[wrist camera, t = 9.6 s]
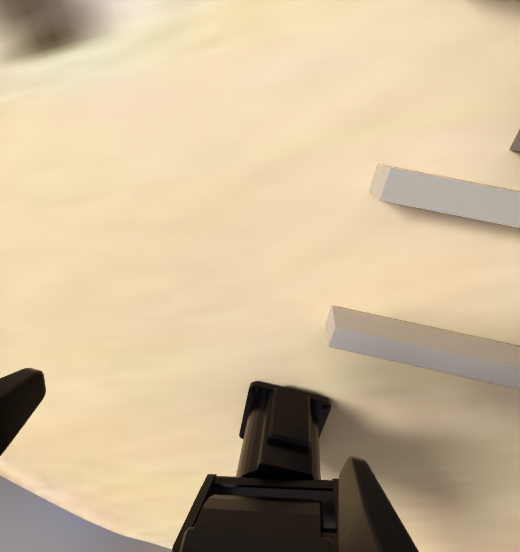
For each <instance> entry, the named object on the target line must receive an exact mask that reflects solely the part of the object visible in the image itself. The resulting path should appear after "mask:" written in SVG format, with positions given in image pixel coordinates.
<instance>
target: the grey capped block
mask: <svg viewBox="0 0 520 552" xmlns="http://www.w3.org/2000/svg"><path fill="white" fill-rule="evenodd" d="M509 150H512V151H518V152H520V130H519V132H518V134H517V136H516V138H515V140H514V141H513V143H512V145H511V147H510V149H509Z"/></svg>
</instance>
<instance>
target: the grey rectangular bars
mask: <svg viewBox="0 0 520 552" xmlns="http://www.w3.org/2000/svg"><path fill="white" fill-rule="evenodd" d="M369 193H370V194H372V195H373V196H374V197H376V198H377V199H378V200H380V201H385V202H390V203H395V204H400V205H405V206H410V207H416V208H421V209H426V210H431V211H436V212H441V213H446V214H451V215H456V216H461V217H466V218H471V219H476V220H481V221H486V222H491V223H496V224H501V225H506V226H512V227H517V228H520V191H516V190H511V189H506V188H501V187H496V186H490V185H485V184H480V183H475V182H469V181H464V180H459V179H454V178H449V177H443V176H438V175H433V174H428V173H423V172H417V171H412V170H407V169H402V168H396V167H391V166H386V165H381V164H378V166H377V169H376V172H375V175H374V178H373V181H372V184H371V187H370V190H369ZM326 329H327V337H328V345H329V347H332V348H337V349H341V350H346V351H350V352H355V353H359V354H364V355H368V356H373V357H377V358H381V359H386V360H390V361H395V362H399V363H404V364H408V365H413V366H417V367H422V368H426V369H430V370H435V371H439V372H444V373H448V374H453V375H457V376H462V377H466V378H471V379H475V380H479V381H484V382H488V383H493V384H497V385H502V386H506V387H511V388H515V389H520V346H516V345H511V344H507V343H502V342H497V341H493V340H488V339H484V338H479V337H474V336H470V335H465V334H461V333H456V332H451V331H447V330H442V329H438V328H433V327H428V326H424V325H419V324H415V323H410V322H405V321H401V320H396V319H392V318H387V317H382V316H378V315H373V314H369V313H364V312H359V311H355V310H350V309H346V308H341V307H336V306H331V309H330V312H329V315H328V319H327V322H326Z"/></svg>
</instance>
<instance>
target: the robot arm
mask: <svg viewBox="0 0 520 552" xmlns="http://www.w3.org/2000/svg"><path fill="white" fill-rule="evenodd" d="M255 388H257V389H255ZM45 393H46V387H45V380H44V374H43V372H42V371H40V370H36V369H33V368H25V369H22V370H19V371H17V372H15V373H12V374H10V375H7V376H5V377H2V378H0V456H1V454H2V453H3V452H4V451H5V450H6V448H7V447H8V446H9V444H10V443H11V442H12V440H13V439H14V438H15V436H16V435H17V434H18V432H19V431H20V430H21V428H22V427H23V426H24V424H25V423H26V422H27V420H28V419H29V417H30V416H31V415H32V413H33V412H34V411H35V409H36V408H37V407H38V405H39V404H40V403H41V401H42V400H43V398H44V396H45ZM323 404H326V405H323ZM330 409H331V402H330V400H329V399H327V398H324V397H319V396H315V395H311V394H307V393H302V392H298V391H294V390H289V389H285V388H281V387H277V386H272V385H268V384H264V383H259V382H252V383H251V384H250V387H249V391H248V396H247V401H246V406H245V410H244V415H243V420H242V424H241V429H240V434H239V436H240V438H242V439H244V440H243V445H242V450H241V455H240V460H239V465H238V470H237V475H236V477H229V476H217V475H216V474H208V475H207V477H206V479H205V481H204V483H203V485H202V487H201V489H200V491H199V493H198V495H197V497H196V499H195V501H194V503H193V505H192V507H191V510H190V512H189V514H188V516H187V518H186V520H185V522H184V524H183V526H182V528H181V530H180V533H179V535H178V537H177V539H176V541H175V543H174V545H173V548H172V552H419V551H418V549H417V548H416V546H415V544H414V542H413V541H412V539H411V537H410V536H409V534H408V532H407V530H406V529H405V527H404V525H403V524H402V522H401V520H400V518H399V517H398V515H397V513H396V512H395V510H394V508H393V506H392V505H391V503H390V501H389V500H388V498H387V496H386V494H385V493H384V491H383V489H382V487H381V486H380V484H379V482H378V481H377V479H376V477H375V475H374V474H373V472H372V470H371V469H370V467H369V465H368V464H367V462H366V461H365V460H363V459H360V458H357V457H353V456H351V457H349V458H348V460H347V462H346V464H345V465H344V467H343V469H342V471H341V473H340V476H339V479H332V480H321V474H320V455H319V437H320V434H321V432H322V429H323V427H324V424H325V422H326V419H327V417H328V414H329V412H330Z"/></svg>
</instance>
